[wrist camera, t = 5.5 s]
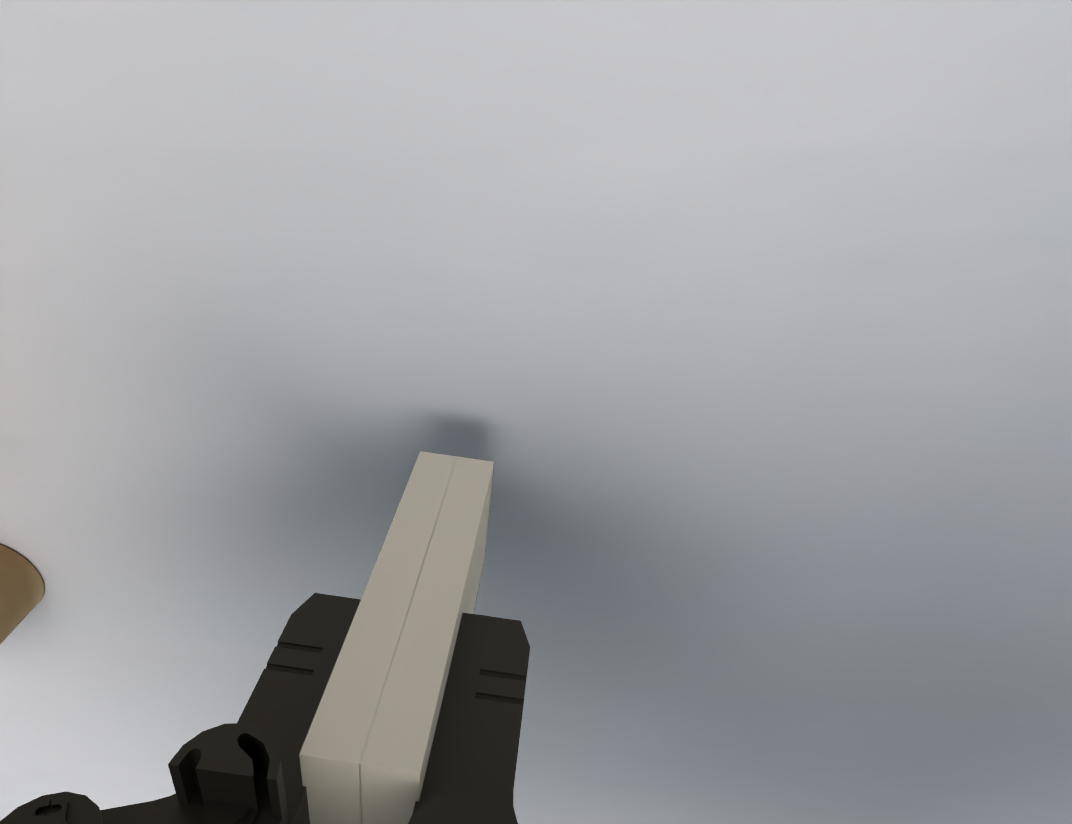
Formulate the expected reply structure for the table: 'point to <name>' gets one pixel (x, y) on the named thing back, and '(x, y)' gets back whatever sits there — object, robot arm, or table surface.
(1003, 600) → the table surface
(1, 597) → the post
